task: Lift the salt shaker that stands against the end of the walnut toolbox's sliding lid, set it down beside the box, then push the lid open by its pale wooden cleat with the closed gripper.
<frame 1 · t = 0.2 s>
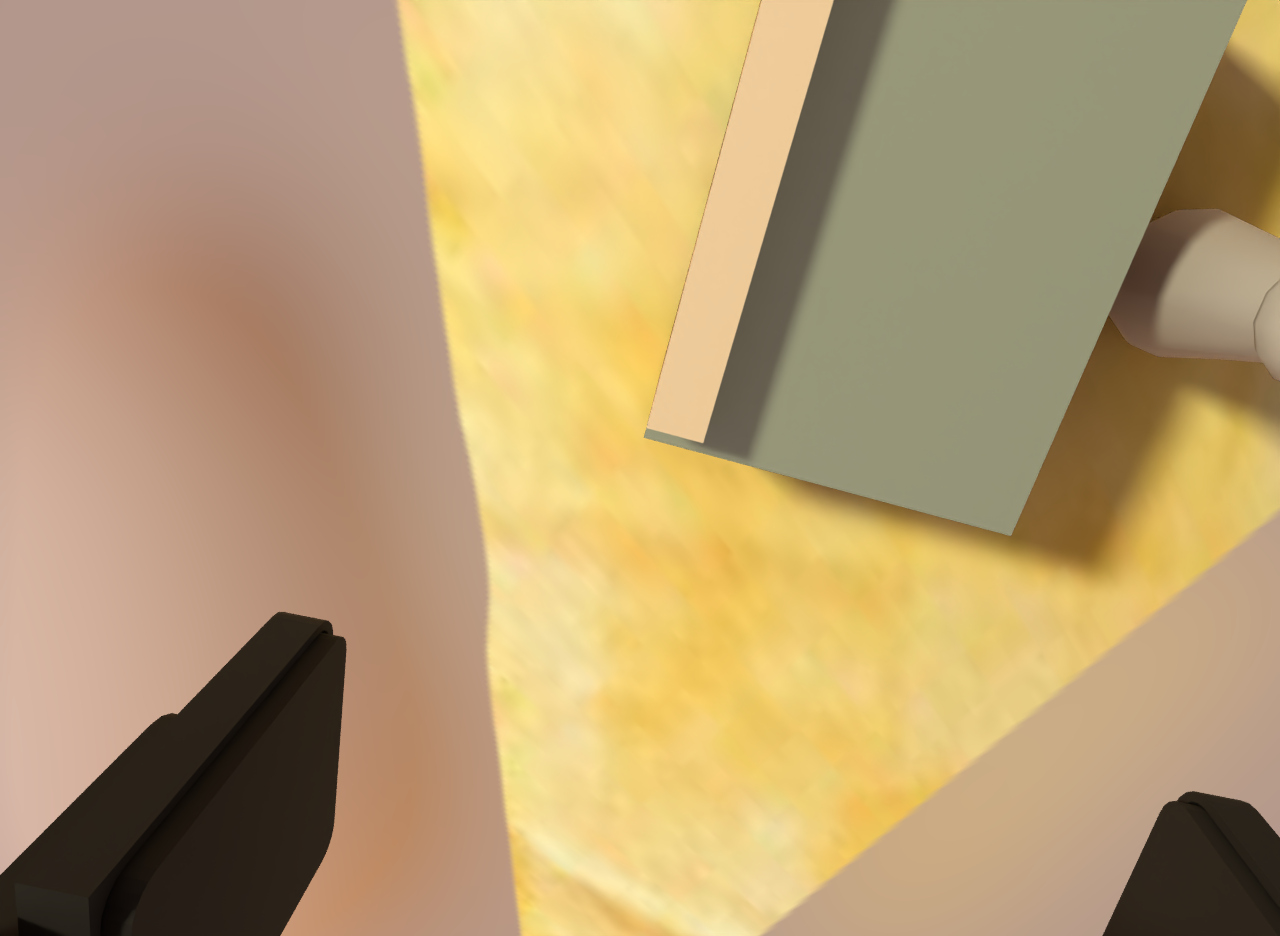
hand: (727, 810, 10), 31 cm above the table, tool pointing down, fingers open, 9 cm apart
salt shaker: (1155, 276, 37), on the table
lid: (927, 214, 29), point 9 cm above the table, slide at 0.0 cm
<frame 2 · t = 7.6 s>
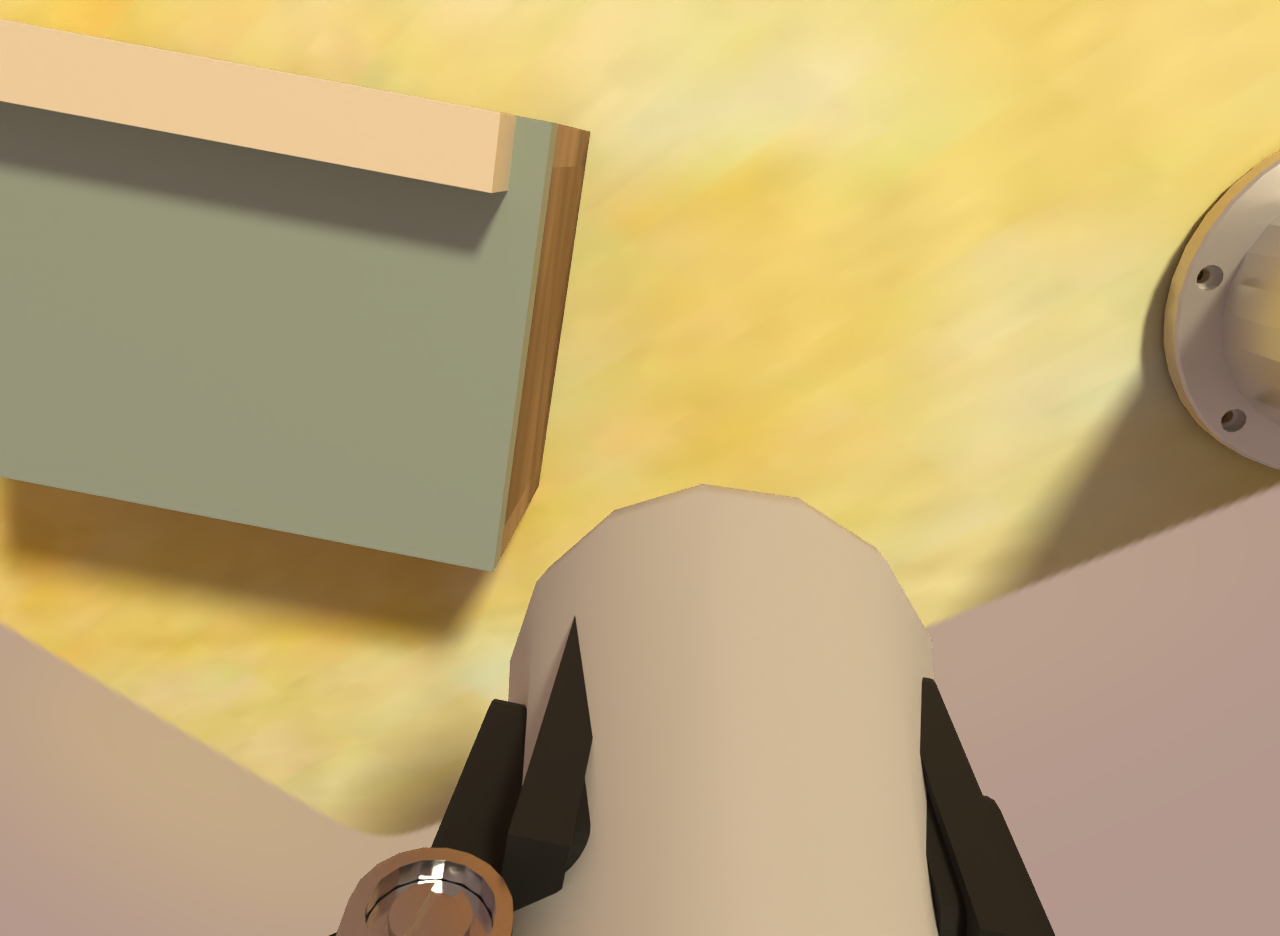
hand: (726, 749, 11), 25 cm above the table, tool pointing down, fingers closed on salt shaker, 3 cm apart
salt shaker: (718, 601, 15), point 21 cm above the table, touching gripper
toolbox: (312, 273, 35), on the table
lid: (188, 308, 26), point 9 cm above the table, slide at 0.0 cm
when the fingers open (5 cm above the table, at t = 11.5 s): salt shaker drops 1 cm, on the table.
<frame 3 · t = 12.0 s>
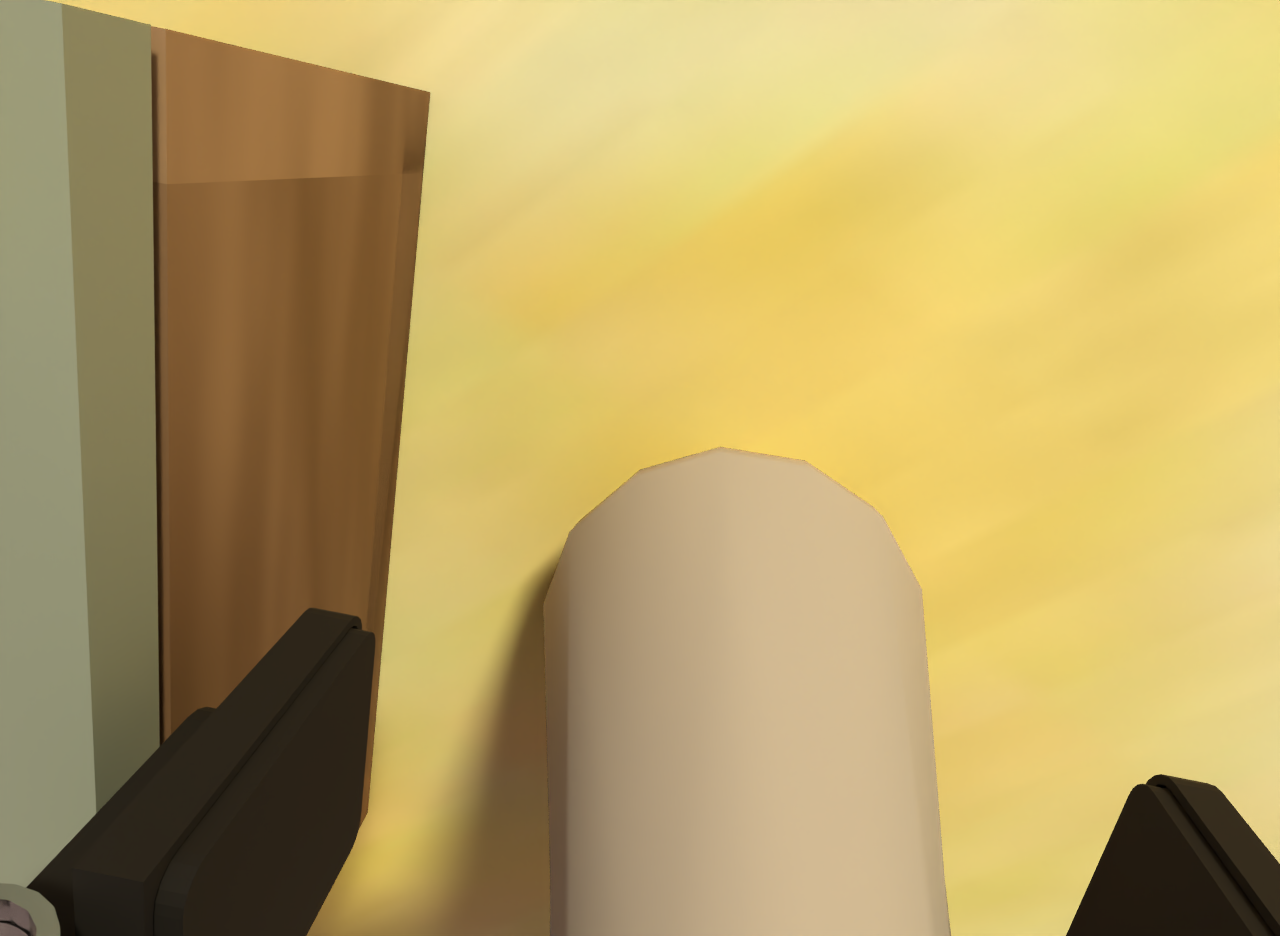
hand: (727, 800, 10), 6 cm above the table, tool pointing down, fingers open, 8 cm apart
salt shaker: (727, 560, 16), on the table
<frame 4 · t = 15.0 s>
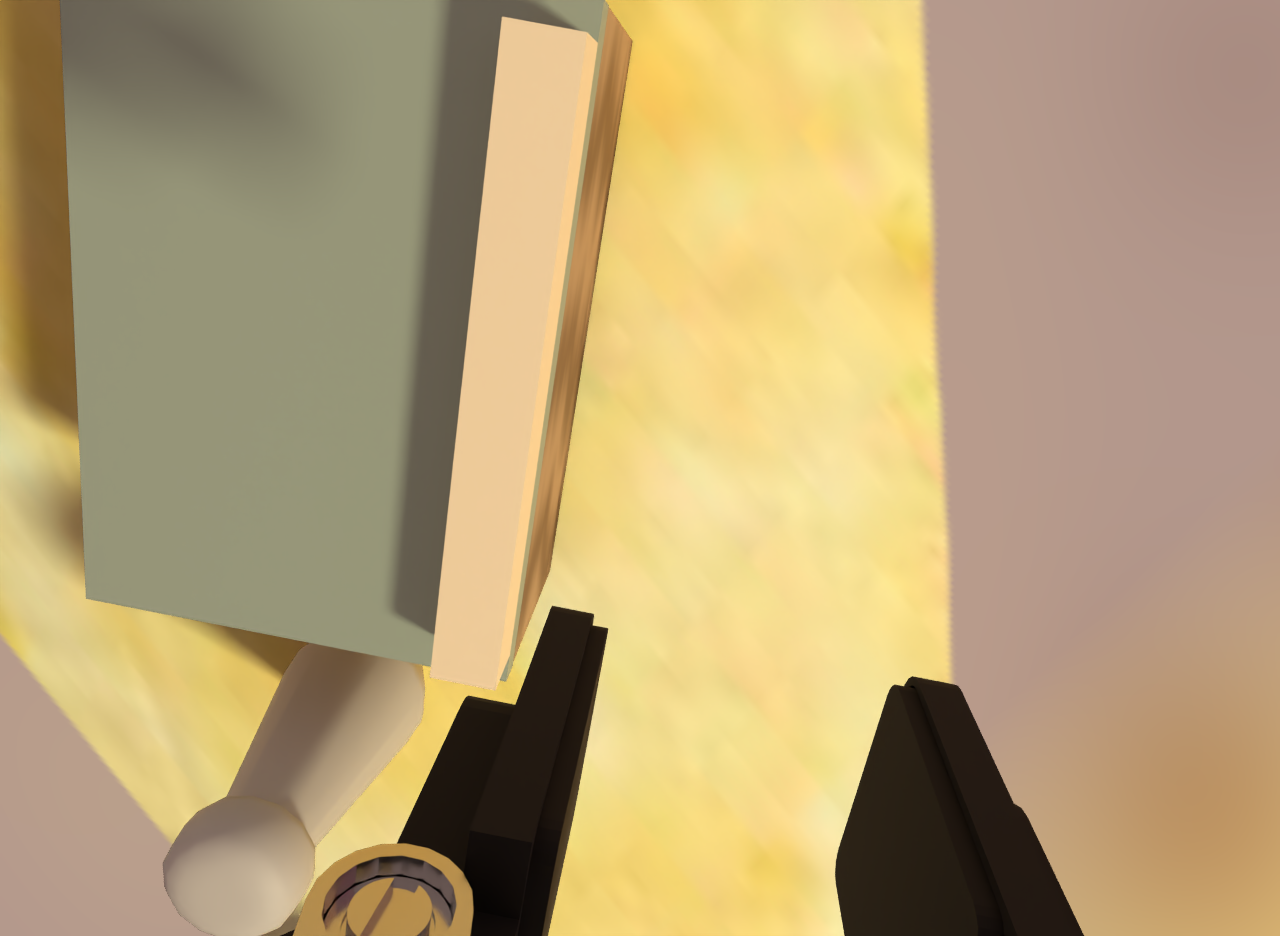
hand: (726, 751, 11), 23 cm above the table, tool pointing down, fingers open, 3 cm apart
salt shaker: (376, 662, 39), on the table
toolbox: (403, 298, 33), on the table
lid: (301, 343, 25), point 9 cm above the table, slide at 0.0 cm
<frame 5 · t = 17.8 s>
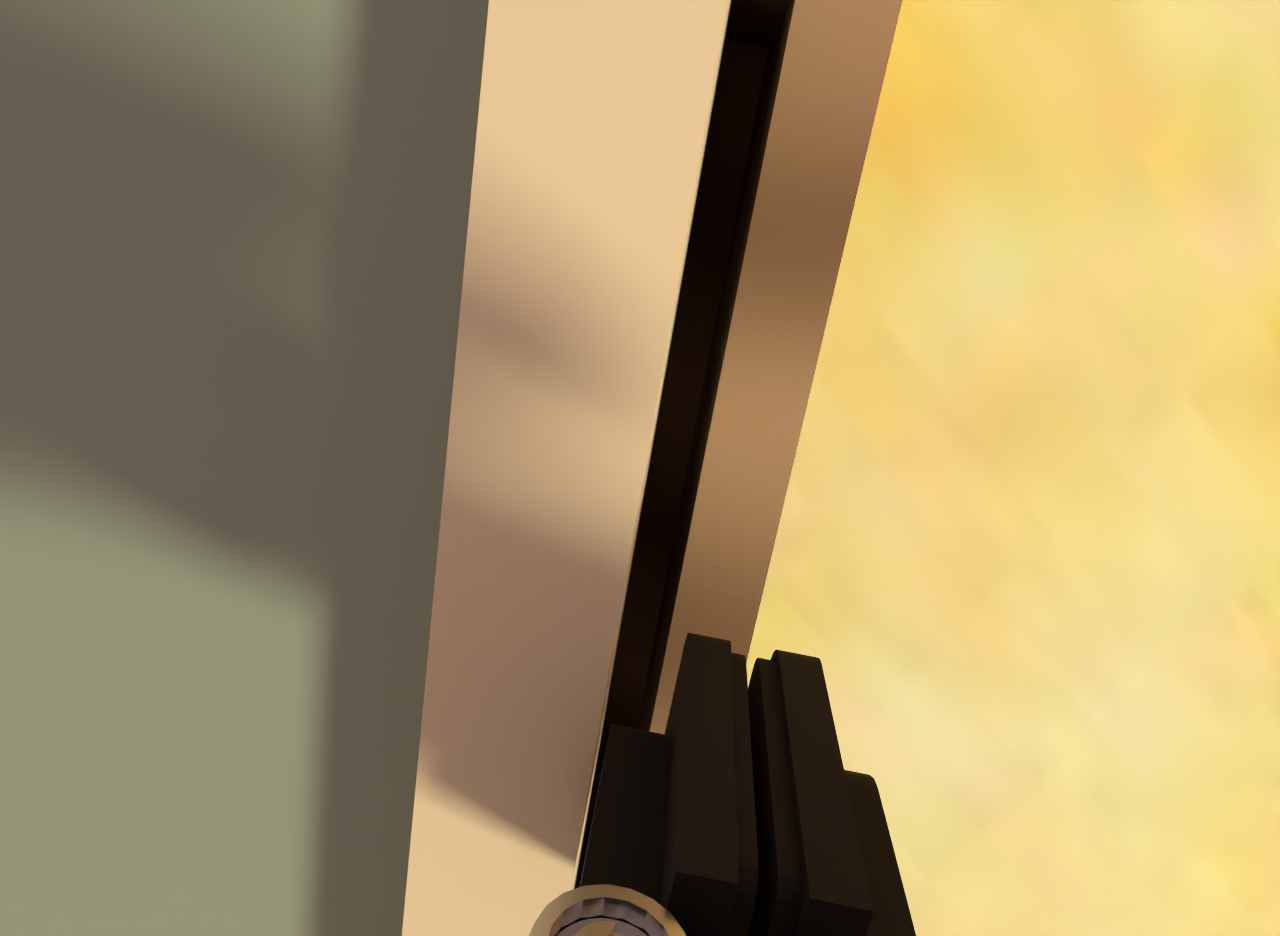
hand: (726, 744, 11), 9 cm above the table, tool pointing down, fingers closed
toolbox: (428, 436, 20), on the table
lid: (84, 604, 12), point 9 cm above the table, slide at 1.9 cm, touching gripper
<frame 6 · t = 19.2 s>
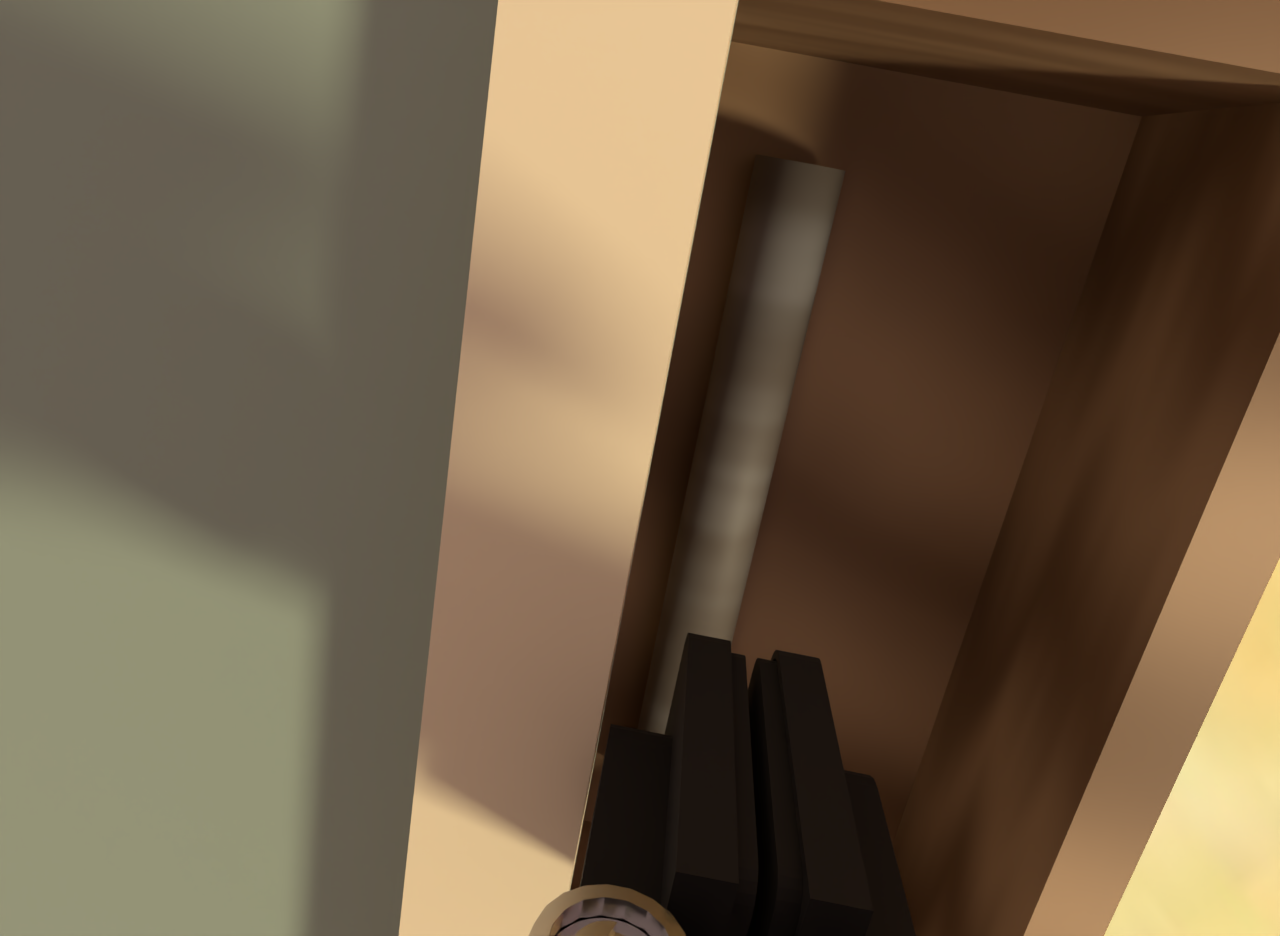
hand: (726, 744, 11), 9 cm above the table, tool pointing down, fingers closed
toolbox: (719, 490, 20), on the table
lid: (84, 599, 12), point 9 cm above the table, slide at 8.6 cm, touching gripper
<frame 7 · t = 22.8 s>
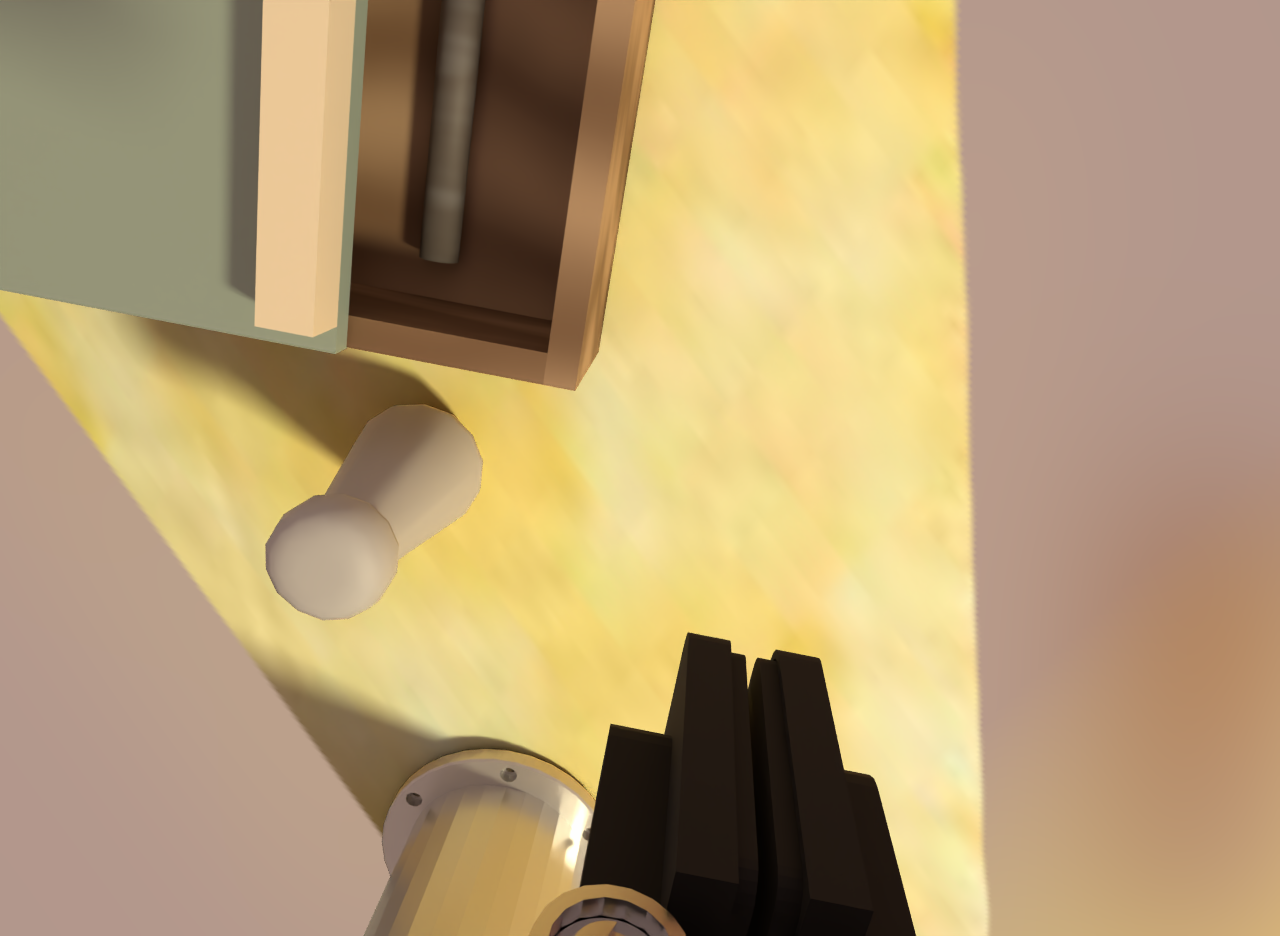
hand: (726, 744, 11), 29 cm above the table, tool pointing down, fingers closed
salt shaker: (434, 449, 42), on the table
toolbox: (468, 82, 36), on the table
lid: (131, 9, 28), point 9 cm above the table, slide at 8.6 cm
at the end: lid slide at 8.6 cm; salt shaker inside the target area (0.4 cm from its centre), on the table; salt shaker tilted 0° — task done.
